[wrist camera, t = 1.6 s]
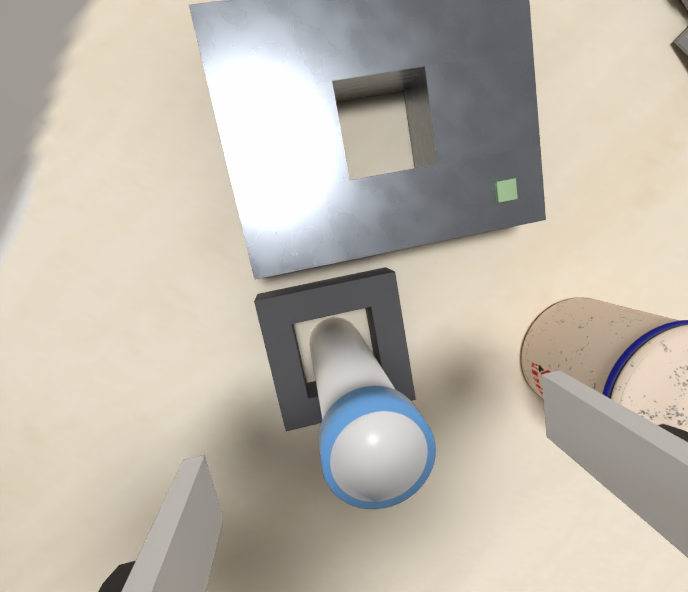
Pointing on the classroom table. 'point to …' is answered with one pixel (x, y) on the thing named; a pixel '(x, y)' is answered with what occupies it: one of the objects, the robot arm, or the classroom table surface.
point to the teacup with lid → (614, 356)
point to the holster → (320, 301)
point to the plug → (366, 423)
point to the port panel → (361, 81)
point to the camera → (683, 35)
